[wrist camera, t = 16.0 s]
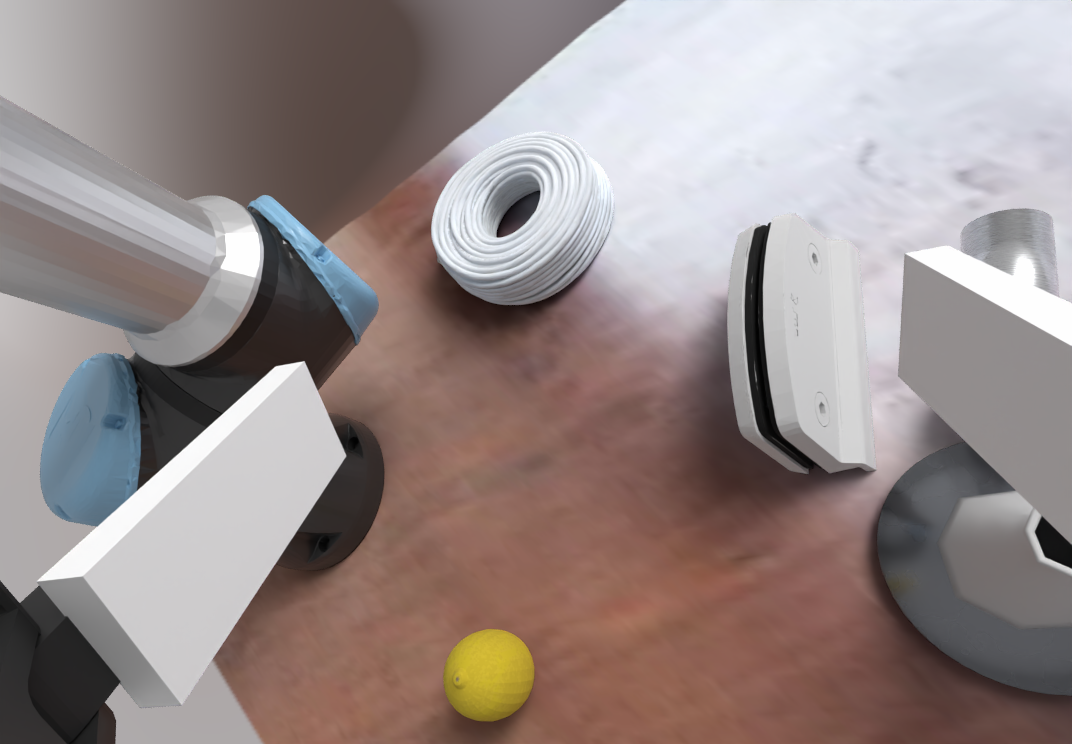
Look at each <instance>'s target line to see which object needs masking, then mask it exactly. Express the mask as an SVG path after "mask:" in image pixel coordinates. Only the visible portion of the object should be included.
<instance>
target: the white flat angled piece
mask: <svg viewBox="0 0 1072 744" xmlns="http://www.w3.org/2000/svg"><path fill="white" fill-rule="evenodd" d="M727 335H728V352H729V367H730V376H731V385H732V392H733V399H734V405H735V411H736V416H737V422H738V427H739V430H740V432H741V434H742V436H743V437H744V438H745V439H747V440H748V441H749V442H751V443H752V444H754V445H755V446H756V447H758V448H759V449H761V450H762V451H763V452H765V453H766V454H768V455H769V456H770V457H772V458H773V459H774V460H776V461H777V462H779V463H780V464H781V465H783V466H784V467H786V468H787V469H788V470H790V471H794V472H799V473H804V474H809V469H811V468H813V463H814V464H816V465H817V466H818V467H820V468H823V469H824V470H826V471H827V472H828V473H833V472H838V471H843V470H847V469H852V468H857V467H860V468H862V469H864V470H866V471H874V470H876V459H875V446H874V433H873V420H872V408H871V395H870V382H869V370H868V357H867V344H866V332H865V319H864V306H863V293H862V281H861V268H860V255H859V250H858V249H857V248H856V247H855V246H854V245H853V244H852V243H851V242H850V241H847V240H833V239H827V238H826V237H825V236H823V235H822V234H821V233H820V232H818V231H817V230H816V229H815V228H813V227H812V226H811V225H810V224H808V223H807V222H806V221H804V220H803V219H802V218H801V217H799V216H798V215H797V214H796V213H791V214H786V215H781V216H776V217H774V218H773V219H772V221H771V222H770V223H769V224H768V226H766V225H762V226H761V225H760V224H754V225H753V226H751V227H750V228H748V229H746V230H745V231H743V232H742V233H740V234H739V236H738V239H737V243H736V246H735V250H734V255H733V259H732V265H731V272H730V280H729V289H728V311H727Z"/></svg>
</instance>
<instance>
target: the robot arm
mask: <svg viewBox="0 0 1072 744" xmlns="http://www.w3.org/2000/svg"><path fill="white" fill-rule="evenodd" d="M247 208H248V209H246V208H245V207H243V206H242V205H240V204H239V203H236V202H234V201H232V200H230V199H227V198H225V197H220V196H203V197H198V198H195V199H192V200H189V201H185V200H183V199H182V198H180V197H178V196H176V195H175V194H173V193H171V192H169V191H168V190H166V189H164V188H162V187H161V186H159V185H157V184H155V183H154V182H152V181H150V180H148V179H146V178H145V177H143V176H141V175H139V174H138V173H136V172H134V171H132V170H130V169H129V168H127V167H125V166H124V165H122V164H120V163H118V162H116V161H115V160H113V159H111V158H109V157H108V156H106V155H104V154H102V153H100V152H99V151H97V150H95V149H94V148H92V147H90V146H88V145H87V144H85V143H83V142H81V141H79V140H78V139H76V138H74V137H72V136H71V135H69V134H67V133H65V132H64V131H62V130H60V129H58V128H56V127H55V126H53V125H51V124H50V123H48V122H46V121H44V120H42V119H41V118H39V117H37V116H35V115H34V114H32V113H30V112H28V111H27V110H25V109H23V108H21V107H19V106H18V105H16V104H14V103H13V102H11V101H9V100H7V99H5V98H4V97H2V96H0V292H2V293H5V294H8V295H11V296H15V297H18V298H21V299H25V300H28V301H31V302H35V303H38V304H41V305H45V306H48V307H52V308H55V309H58V310H61V311H65V312H68V313H71V314H75V315H78V316H81V317H85V318H88V319H91V320H95V321H98V322H101V323H105V324H108V325H112V326H115V327H119V328H121V329H123V331H124V334H125V336H126V338H127V340H128V342H129V344H130V345H131V347H132V348H133V350H134V351H135V354H134V355H133V356H132V357H131V358H130V359H126V358H125V357H124V356H123V355H120V354H117V353H115V354H107V353H100V354H96V355H94V356H92V357H91V358H90V359H88V360H85V361H84V362H82V363H81V364H80V366H79V367H78V368H77V369H76V370H75V371H74V373H73V374H72V375H71V377H70V378H69V380H68V381H67V383H66V385H65V386H64V388H63V390H62V392H61V394H60V396H59V398H58V400H57V402H56V404H55V407H54V409H53V412H52V415H51V418H50V420H49V424H48V426H47V430H46V434H45V439H44V443H43V448H42V454H41V463H40V482H41V489H42V493H43V497H44V499H45V502H46V504H47V505H48V507H49V508H50V510H51V511H52V512H53V513H54V514H55V515H57V516H58V517H60V518H62V519H64V520H66V521H69V522H74V523H80V524H86V525H91V526H97V528H95V529H94V530H93V531H92V532H91V533H90V534H89V535H88V536H87V537H86V538H84V539H83V540H82V541H81V542H80V543H79V544H78V545H77V546H75V547H74V548H73V549H72V550H71V551H70V552H69V553H68V554H67V555H66V556H64V557H63V558H62V559H61V560H60V561H59V562H58V563H57V564H55V565H54V566H53V567H52V568H51V569H50V570H49V571H48V572H47V573H45V574H44V575H43V576H42V577H41V578H40V579H39V580H38V581H37V583H38V584H39V586H38V587H37V588H36V589H35V590H34V591H33V592H32V593H31V594H29V595H28V596H27V597H26V598H25V599H24V600H23V601H22V602H21V603H19V602H18V601H17V600H16V599H15V597H14V596H13V595H12V594H11V593H10V592H9V590H8V589H7V588H6V587H5V586H4V585H3V583H2V582H1V581H0V744H115V736H116V720H115V717H114V714H113V712H112V710H111V709H110V708H109V707H108V706H107V705H106V703H105V701H106V700H107V698H108V697H109V696H110V695H111V693H112V692H113V690H114V689H115V688H116V687H117V686H118V684H119V683H120V684H121V685H122V686H123V688H124V689H125V690H126V691H127V693H128V694H129V695H130V696H131V697H132V699H133V700H134V701H135V702H136V704H137V705H138V706H139V707H140V708H150V707H166V706H181V705H183V703H184V702H185V700H186V699H187V697H188V696H189V694H190V693H191V691H192V689H193V688H194V687H195V685H196V683H197V682H198V680H199V679H200V678H201V676H202V674H203V673H204V671H205V670H206V668H207V667H208V665H209V664H210V662H211V661H212V659H213V658H214V656H215V655H216V653H217V652H218V650H219V649H220V647H221V646H222V644H223V643H224V641H225V640H226V638H227V637H228V635H229V633H230V632H231V630H232V629H233V627H234V626H235V624H236V623H237V621H238V620H239V618H240V617H241V615H242V614H243V612H244V611H245V609H246V608H247V606H248V605H249V603H250V602H251V600H252V599H253V597H254V596H255V594H256V593H257V591H258V589H259V588H260V586H261V585H262V583H263V582H264V580H265V579H266V577H267V576H268V574H269V573H270V571H271V570H272V568H273V567H274V565H275V564H278V565H280V566H282V567H285V568H289V569H297V570H309V571H315V570H321V569H325V568H328V567H330V566H333V565H335V564H336V563H338V562H340V561H341V560H343V559H344V558H345V557H346V556H348V555H349V554H350V553H351V552H352V551H353V550H354V549H355V548H356V547H357V545H358V544H359V543H360V542H361V540H362V539H363V538H364V536H365V535H366V533H367V531H368V530H369V528H370V526H371V524H372V522H373V520H374V518H375V515H376V513H377V510H378V507H379V504H380V500H381V496H382V491H383V484H384V464H383V457H382V453H381V449H380V446H379V444H378V442H377V440H376V438H375V436H374V435H373V433H372V432H371V431H370V430H369V429H368V428H367V427H366V426H365V425H363V424H362V423H360V422H358V421H355V420H353V419H350V418H347V417H345V416H342V415H338V414H333V413H327V411H326V409H325V406H324V404H323V402H322V400H321V397H320V395H319V393H318V390H319V389H320V387H321V386H322V385H323V384H324V383H325V381H326V380H327V379H328V378H329V377H330V375H331V374H332V373H333V372H334V371H335V369H336V368H337V367H338V366H339V365H340V364H341V362H342V361H343V360H344V359H345V358H346V356H347V355H348V354H349V353H350V352H351V350H352V349H353V348H354V347H355V346H356V345H358V344H359V342H360V339H361V336H362V334H363V333H364V331H365V330H366V329H367V327H368V326H369V324H370V323H371V322H372V320H373V319H374V317H375V316H376V314H377V311H378V306H379V303H378V298H377V295H376V294H375V292H374V291H373V289H372V288H371V287H370V286H368V285H367V284H366V283H365V282H364V281H363V280H362V279H361V278H360V277H359V276H357V275H356V274H355V273H354V272H353V271H352V270H351V269H350V268H349V267H348V266H347V265H345V264H344V263H343V262H342V261H341V260H340V259H339V258H338V257H337V256H336V255H335V254H333V253H332V252H331V251H330V250H329V249H328V248H327V247H326V246H325V245H324V244H323V243H321V242H320V241H319V240H318V239H317V238H316V237H315V236H314V235H312V233H310V232H309V231H308V230H307V229H306V228H305V227H304V226H303V225H302V224H301V223H300V222H299V221H297V220H296V219H295V218H294V217H293V216H292V215H291V214H289V212H288V211H287V210H285V209H284V208H283V207H282V206H281V205H280V204H279V203H278V202H277V201H275V200H274V199H273V198H272V197H270V196H267V195H263V196H261V197H259V198H258V199H257V200H256V201H252V202H250V204H249V206H248V207H247ZM898 377H900V378H901V379H902V380H903V381H904V382H905V383H906V384H907V385H908V386H909V387H910V388H911V389H912V390H913V391H914V392H915V393H916V394H917V395H918V396H919V397H920V398H921V399H922V400H923V401H924V402H925V403H926V404H927V405H928V406H929V407H930V408H931V409H932V410H934V411H935V412H936V413H937V414H938V415H939V416H940V417H941V418H942V419H943V420H944V421H945V422H946V423H947V424H948V425H949V426H950V427H951V428H952V429H953V430H954V431H955V432H956V433H957V434H958V435H959V436H960V437H961V438H962V439H963V440H964V441H965V442H966V443H968V444H969V445H970V446H971V447H972V448H973V449H974V450H975V451H976V452H977V453H978V454H979V455H980V456H981V457H982V458H983V459H984V460H985V461H986V462H987V463H988V464H989V465H990V466H991V467H992V468H993V469H994V470H995V471H996V472H997V473H998V474H999V475H1000V476H1002V477H1003V478H1004V479H1005V480H1006V481H1007V482H1008V483H1009V484H1010V485H1011V486H1012V487H1013V488H1014V489H1015V490H1016V491H1017V492H1018V493H1019V494H1020V495H1021V496H1022V497H1023V498H1024V499H1025V500H1026V501H1027V502H1028V503H1029V504H1030V505H1031V506H1032V507H1033V508H1034V509H1036V510H1037V511H1038V512H1039V513H1040V514H1041V515H1042V516H1043V517H1044V518H1045V519H1046V520H1047V521H1048V522H1049V523H1050V524H1051V525H1052V526H1053V527H1054V528H1055V529H1056V530H1057V531H1058V532H1059V533H1060V534H1061V535H1062V536H1063V537H1064V538H1065V539H1066V540H1067V541H1068V542H1070V543H1071V544H1072V303H1070V302H1068V301H1065V300H1063V299H1061V298H1059V297H1057V296H1055V295H1053V294H1050V293H1048V292H1046V291H1044V290H1042V289H1040V288H1038V287H1035V286H1033V285H1031V284H1029V283H1027V282H1025V281H1023V280H1020V279H1018V278H1016V277H1014V276H1012V275H1010V274H1008V273H1005V272H1003V271H1001V270H999V269H997V268H995V267H992V266H990V265H988V264H986V263H984V262H982V261H980V260H977V259H975V258H973V257H971V256H969V255H967V254H965V253H962V252H960V251H958V250H956V249H954V248H952V247H950V246H943V247H937V248H932V249H926V250H920V251H915V252H909V253H905V258H904V276H903V295H902V313H901V331H900V349H899V368H898Z"/></svg>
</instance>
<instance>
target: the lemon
mask: <svg viewBox="0 0 1072 744" xmlns="http://www.w3.org/2000/svg"><path fill="white" fill-rule="evenodd" d="M443 680H444V688H445V693H446V695H447V697H448V700H449V702H450V703H451V704H452V706H453V707H454V708H455V710H457V711H458V712H459V713H461V714H462V715H463V716H465V717H467V718H470V719H473V720H476V721H497V720H500V719H502V718H505V717H508V716H510V715H511V714H513V713H514V712H515V711H516V710H518V709H519V708H520V707H521V706H522V705H523V704H524V702H525V701H526V700H527V698H528V696H529V694H530V692H531V690H532V687H533V682H534V664H533V659H532V656H531V654H530V652H529V649H528V648H527V647H526V645H525V644H524V643H523V641H521V640H520V639H519V638H518V637H517V636H515V635H514V634H511V633H509V632H507V631H504V630H497V629H486V630H482V631H478V632H475V633H473V634H471V635H469V636H468V637H466V638H464V639H463V640H461V641H460V642H459V643H458V644H457V645H456V646H455V647H454V648H453V650H452V651H451V653H450V655H449V656H448V659H447V661H446V664H445V668H444V675H443Z"/></svg>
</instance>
